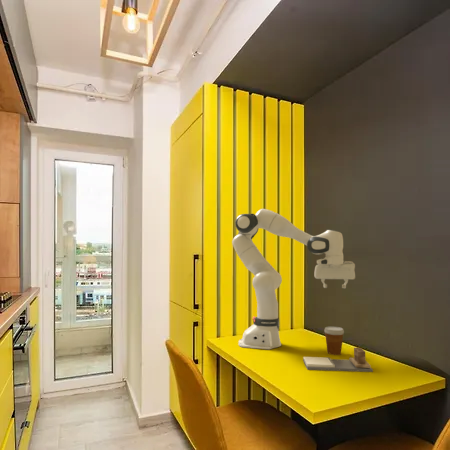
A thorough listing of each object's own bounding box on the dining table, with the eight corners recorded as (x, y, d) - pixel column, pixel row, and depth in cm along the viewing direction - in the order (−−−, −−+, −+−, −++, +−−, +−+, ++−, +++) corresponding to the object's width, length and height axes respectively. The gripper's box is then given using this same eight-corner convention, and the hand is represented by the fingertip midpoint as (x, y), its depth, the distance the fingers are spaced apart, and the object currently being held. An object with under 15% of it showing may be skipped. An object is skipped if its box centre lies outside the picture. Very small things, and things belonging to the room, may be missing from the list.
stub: (356, 367, 150) (355, 352, 151) (349, 359, 160) (349, 346, 161) (370, 367, 150) (370, 353, 150) (363, 360, 160) (362, 346, 160)
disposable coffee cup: (322, 354, 172) (322, 329, 173) (326, 349, 181) (326, 325, 182) (342, 357, 168) (342, 331, 169) (345, 352, 176) (345, 327, 177)
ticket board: (307, 369, 151) (307, 364, 151) (303, 360, 163) (303, 355, 163) (372, 371, 149) (372, 366, 149) (363, 362, 161) (363, 357, 161)
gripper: (353, 261, 186) (353, 287, 185) (313, 260, 188) (313, 286, 187) (356, 261, 180) (357, 289, 179) (315, 260, 181) (315, 288, 181)
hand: (334, 287), depth 183 cm, fingers open, 8 cm apart
